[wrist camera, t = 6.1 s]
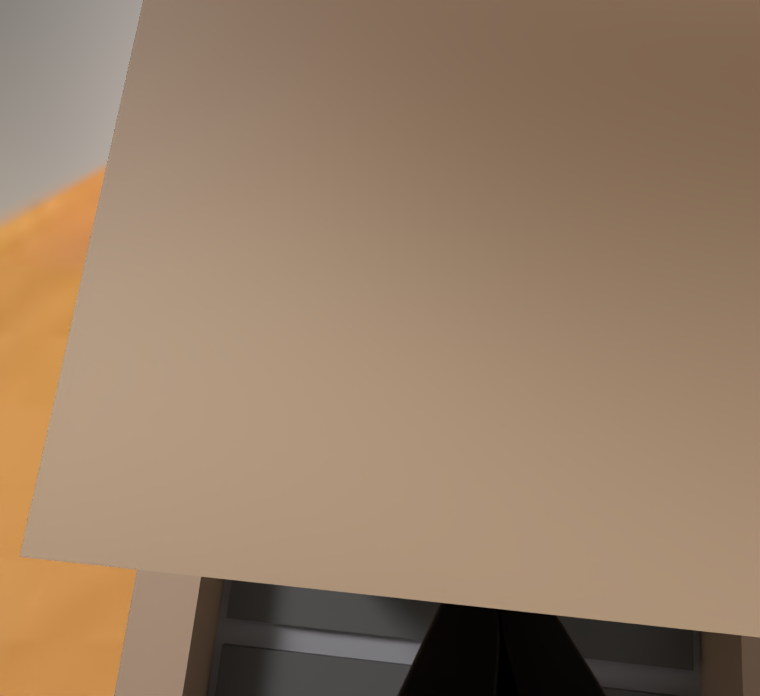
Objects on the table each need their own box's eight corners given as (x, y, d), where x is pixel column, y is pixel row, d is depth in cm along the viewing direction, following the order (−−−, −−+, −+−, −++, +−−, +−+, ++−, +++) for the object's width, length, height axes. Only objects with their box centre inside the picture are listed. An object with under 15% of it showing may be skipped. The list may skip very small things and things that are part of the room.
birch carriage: (619, 574, 14) (1317, 698, 3) (308, 541, 14) (20, 556, 4) (621, 323, 15) (1125, -177, 5) (338, 299, 16) (190, -212, 5)
